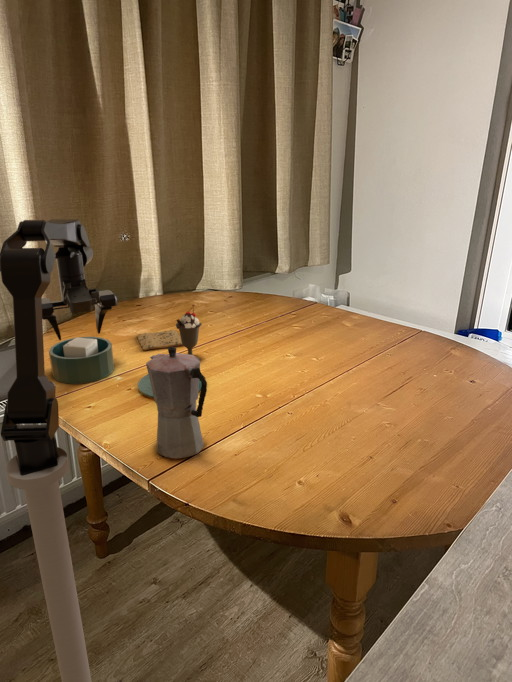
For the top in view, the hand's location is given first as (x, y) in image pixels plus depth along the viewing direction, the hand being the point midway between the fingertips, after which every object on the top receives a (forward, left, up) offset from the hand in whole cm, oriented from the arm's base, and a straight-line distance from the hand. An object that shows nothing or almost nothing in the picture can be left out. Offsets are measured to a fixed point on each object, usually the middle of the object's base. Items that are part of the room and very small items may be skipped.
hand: (79, 336), depth 122 cm
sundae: (+26, -7, -10) cm, 29 cm away
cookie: (+24, +10, -9) cm, 27 cm away
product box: (0, 0, -9) cm, 9 cm away
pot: (0, 0, -9) cm, 9 cm away
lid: (+16, -19, -9) cm, 26 cm away
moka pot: (+8, -44, -10) cm, 46 cm away
